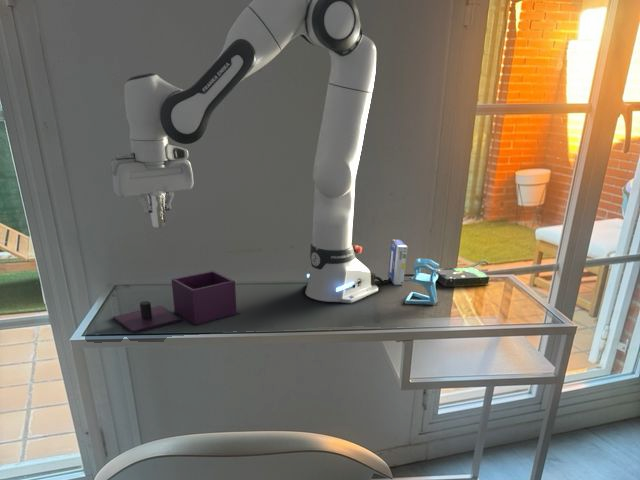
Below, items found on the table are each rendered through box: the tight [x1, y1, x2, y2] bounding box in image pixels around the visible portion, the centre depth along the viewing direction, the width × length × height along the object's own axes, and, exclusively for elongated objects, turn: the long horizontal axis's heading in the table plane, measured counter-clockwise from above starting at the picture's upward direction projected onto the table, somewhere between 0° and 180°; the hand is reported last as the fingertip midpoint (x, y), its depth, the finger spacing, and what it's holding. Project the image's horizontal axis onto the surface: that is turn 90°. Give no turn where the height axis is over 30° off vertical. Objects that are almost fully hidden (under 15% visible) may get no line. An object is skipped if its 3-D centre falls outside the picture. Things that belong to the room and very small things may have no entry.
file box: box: [171, 270, 237, 325], centre depth 154 cm, size 13×11×9 cm
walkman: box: [387, 239, 408, 286], centre depth 181 cm, size 8×3×12 cm, turn 10°
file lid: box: [112, 300, 182, 334], centre depth 150 cm, size 13×11×5 cm
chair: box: [404, 258, 440, 306], centre depth 167 cm, size 8×8×12 cm
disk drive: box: [436, 266, 490, 288], centre depth 186 cm, size 10×3×15 cm
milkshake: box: [146, 186, 167, 229], centre depth 148 cm, size 4×5×10 cm
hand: (157, 211), depth 149 cm, fingers closed on milkshake, 4 cm apart
